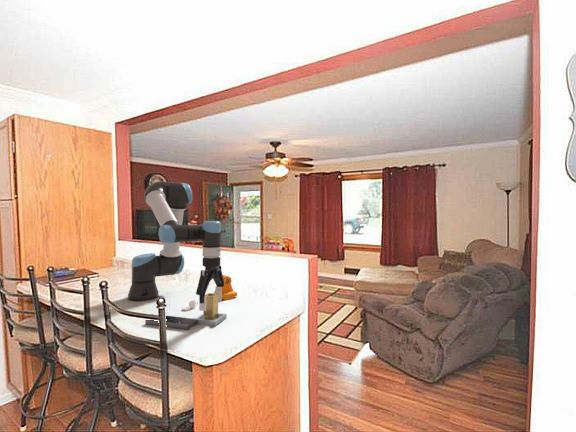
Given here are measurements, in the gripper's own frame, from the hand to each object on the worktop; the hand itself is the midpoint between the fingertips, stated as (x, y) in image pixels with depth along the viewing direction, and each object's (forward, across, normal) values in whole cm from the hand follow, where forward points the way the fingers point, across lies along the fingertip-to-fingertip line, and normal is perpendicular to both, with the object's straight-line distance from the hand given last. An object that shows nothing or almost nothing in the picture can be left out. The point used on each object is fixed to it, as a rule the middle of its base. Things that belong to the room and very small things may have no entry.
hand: (210, 305), depth 131 cm
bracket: (+7, +35, +10) cm, 37 cm away
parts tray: (+7, 0, 0) cm, 7 cm away
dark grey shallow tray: (+7, -9, +13) cm, 17 cm away
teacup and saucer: (+7, +12, +20) cm, 24 cm away
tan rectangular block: (+6, 0, 0) cm, 6 cm away
